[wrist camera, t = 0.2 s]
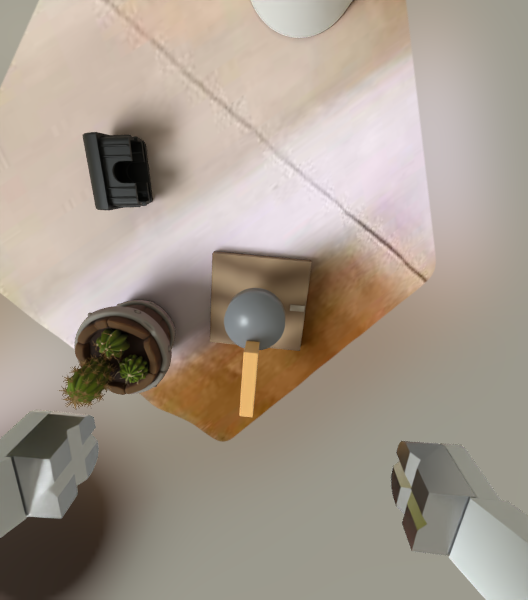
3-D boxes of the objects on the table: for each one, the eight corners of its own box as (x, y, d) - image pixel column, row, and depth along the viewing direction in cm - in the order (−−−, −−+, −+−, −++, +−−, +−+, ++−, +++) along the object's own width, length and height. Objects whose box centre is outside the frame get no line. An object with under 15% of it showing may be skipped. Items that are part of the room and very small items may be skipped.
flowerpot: (154, 272, 58) (92, 318, 39) (202, 343, 62) (166, 416, 43) (89, 308, 61) (2, 368, 42) (138, 374, 65) (80, 455, 46)
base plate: (214, 251, 56) (212, 253, 54) (311, 260, 56) (311, 262, 54) (211, 338, 62) (209, 342, 60) (299, 346, 61) (299, 351, 60)
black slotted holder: (98, 137, 51) (72, 132, 45) (145, 136, 51) (125, 131, 44) (110, 206, 54) (87, 210, 48) (153, 205, 54) (136, 209, 48)
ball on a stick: (228, 285, 51) (221, 299, 45) (288, 290, 51) (288, 306, 45) (223, 388, 58) (216, 413, 52) (276, 393, 57) (275, 419, 51)
